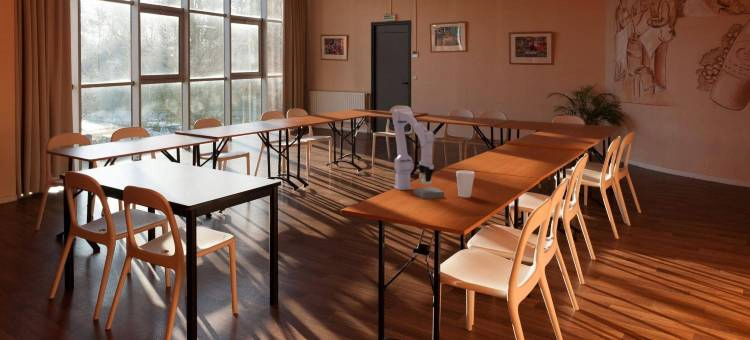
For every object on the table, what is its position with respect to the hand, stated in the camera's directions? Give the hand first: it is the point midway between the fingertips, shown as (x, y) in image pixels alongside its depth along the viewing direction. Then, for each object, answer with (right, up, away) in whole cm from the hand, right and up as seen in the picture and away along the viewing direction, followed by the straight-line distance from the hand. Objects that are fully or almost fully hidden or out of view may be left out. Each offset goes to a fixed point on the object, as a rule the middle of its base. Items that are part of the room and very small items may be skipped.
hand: (425, 180), depth 350 cm
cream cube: (0, -2, 0) cm, 2 cm away
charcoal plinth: (+2, -8, +2) cm, 9 cm away
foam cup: (+21, -9, +2) cm, 23 cm away
